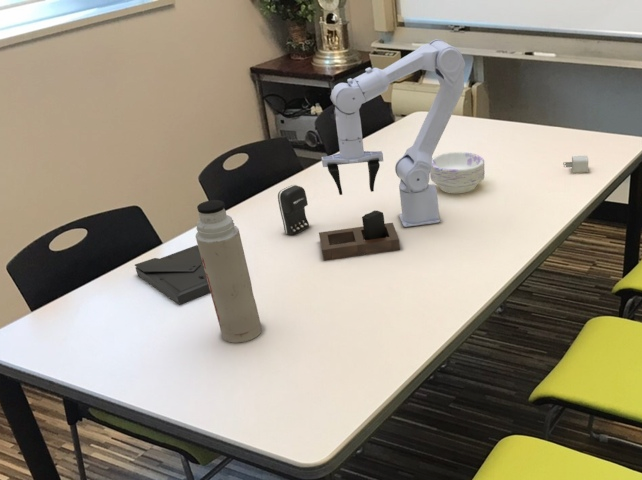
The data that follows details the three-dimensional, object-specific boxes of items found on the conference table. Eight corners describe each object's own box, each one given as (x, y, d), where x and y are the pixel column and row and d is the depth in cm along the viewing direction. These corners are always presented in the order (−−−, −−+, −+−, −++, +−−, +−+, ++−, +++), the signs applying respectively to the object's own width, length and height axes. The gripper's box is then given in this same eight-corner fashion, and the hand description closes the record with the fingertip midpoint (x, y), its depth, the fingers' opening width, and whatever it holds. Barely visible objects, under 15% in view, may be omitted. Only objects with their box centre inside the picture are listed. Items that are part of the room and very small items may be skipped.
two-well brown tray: (393, 232, 200) (392, 222, 199) (400, 249, 192) (399, 239, 191) (320, 242, 197) (318, 232, 196) (323, 260, 189) (321, 249, 187)
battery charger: (294, 237, 200) (286, 194, 194) (283, 234, 202) (275, 191, 196) (314, 227, 205) (306, 184, 198) (303, 224, 207) (295, 182, 200)
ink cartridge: (380, 239, 197) (377, 209, 193) (386, 241, 196) (383, 211, 192) (365, 246, 195) (361, 215, 190) (371, 248, 193) (367, 218, 189)
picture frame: (137, 275, 186) (179, 304, 174) (134, 264, 185) (176, 293, 172) (198, 252, 195) (243, 279, 183) (196, 242, 194) (240, 268, 181)
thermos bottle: (218, 344, 160) (183, 214, 144) (225, 323, 166) (192, 197, 150) (258, 341, 160) (227, 211, 144) (264, 320, 167) (235, 194, 151)
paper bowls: (495, 183, 225) (494, 155, 220) (465, 202, 215) (464, 173, 210) (451, 174, 232) (449, 147, 227) (420, 192, 222) (417, 164, 217)
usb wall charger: (587, 173, 228) (588, 159, 226) (563, 174, 229) (564, 160, 226) (586, 168, 232) (587, 154, 229) (562, 169, 232) (563, 155, 230)
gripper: (320, 145, 184) (328, 200, 192) (382, 139, 187) (387, 194, 194) (318, 135, 190) (325, 190, 197) (378, 130, 192) (383, 184, 200)
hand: (356, 191), depth 196 cm, fingers open, 7 cm apart
